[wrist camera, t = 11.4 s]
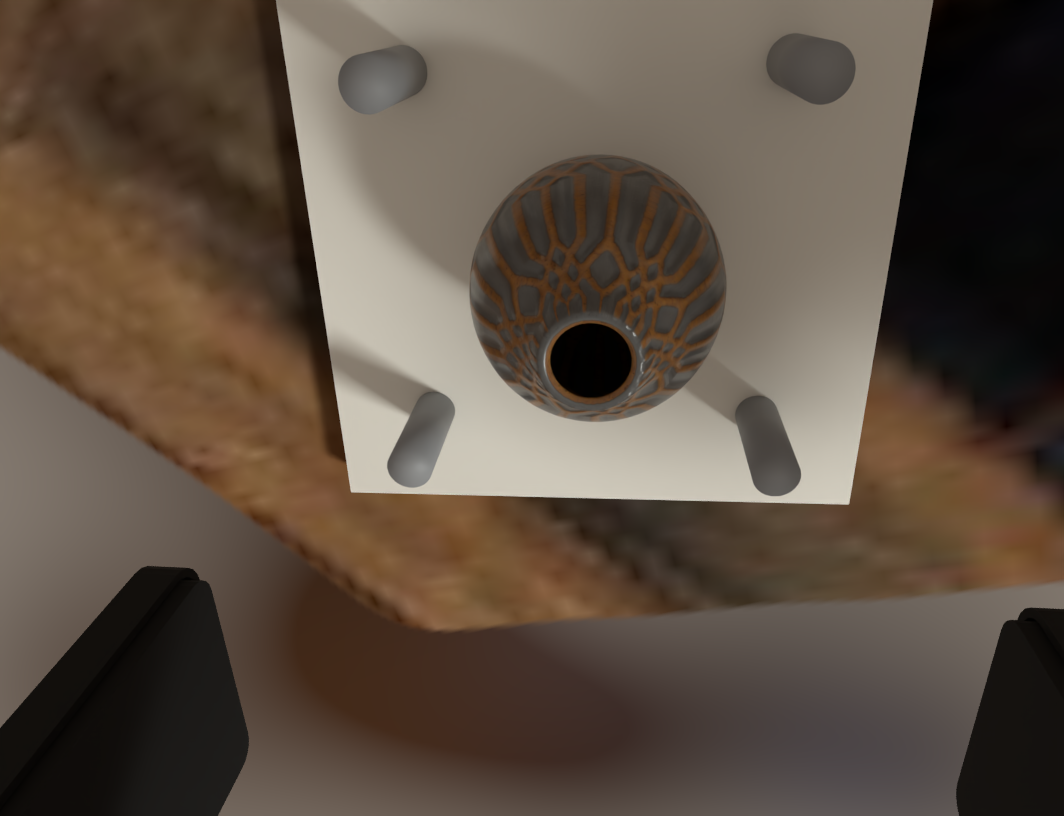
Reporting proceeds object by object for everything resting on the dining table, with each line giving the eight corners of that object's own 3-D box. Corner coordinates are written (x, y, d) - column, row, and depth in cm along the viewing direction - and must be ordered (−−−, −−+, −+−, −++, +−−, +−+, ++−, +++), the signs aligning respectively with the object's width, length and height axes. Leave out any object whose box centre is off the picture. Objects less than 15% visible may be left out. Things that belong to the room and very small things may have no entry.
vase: (738, 313, 26) (789, 448, 18) (539, 380, 28) (508, 529, 20) (670, 99, 23) (696, 151, 16) (454, 188, 25) (380, 274, 17)
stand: (928, -87, 22) (1016, -111, 17) (838, 482, 30) (881, 575, 25) (285, -59, 24) (200, -73, 19) (362, 471, 32) (315, 557, 27)
